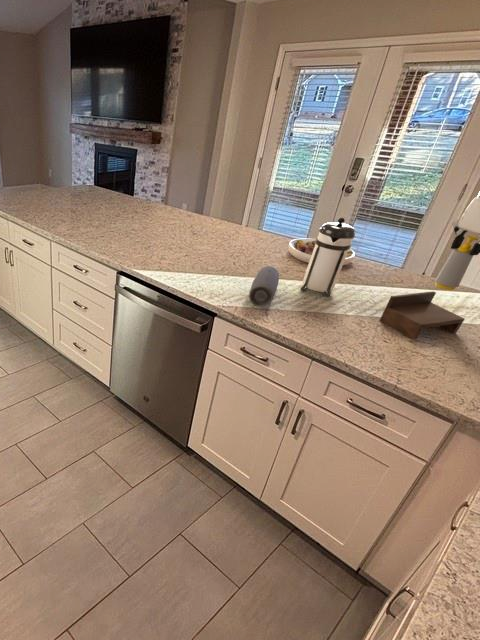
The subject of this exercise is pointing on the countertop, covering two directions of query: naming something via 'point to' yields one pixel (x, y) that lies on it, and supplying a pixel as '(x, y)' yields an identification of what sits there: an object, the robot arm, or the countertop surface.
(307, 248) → the bowl
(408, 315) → the shelf
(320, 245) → the coffee press
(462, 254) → the soap bottle
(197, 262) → the countertop surface
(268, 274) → the bluetooth speaker
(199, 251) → the countertop surface
